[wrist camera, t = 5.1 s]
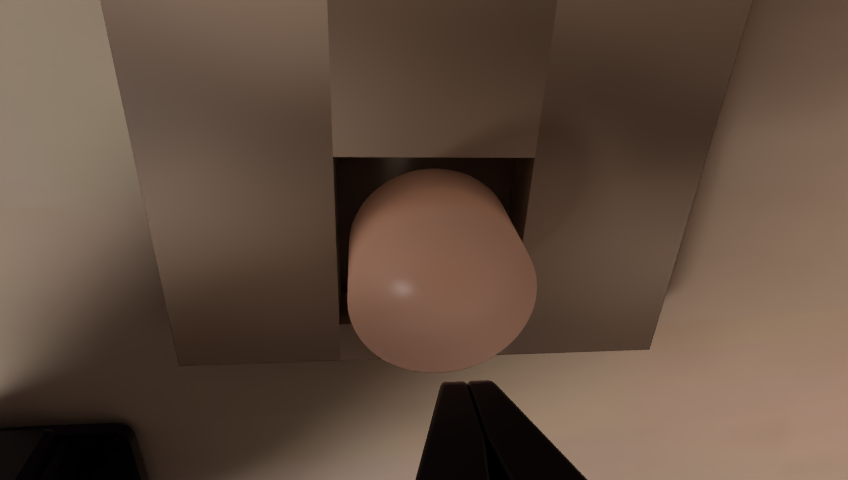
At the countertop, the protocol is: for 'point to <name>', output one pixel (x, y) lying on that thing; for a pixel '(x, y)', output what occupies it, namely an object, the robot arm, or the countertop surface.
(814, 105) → the countertop surface
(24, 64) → the countertop surface
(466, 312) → the terracotta button
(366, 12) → the button panel
